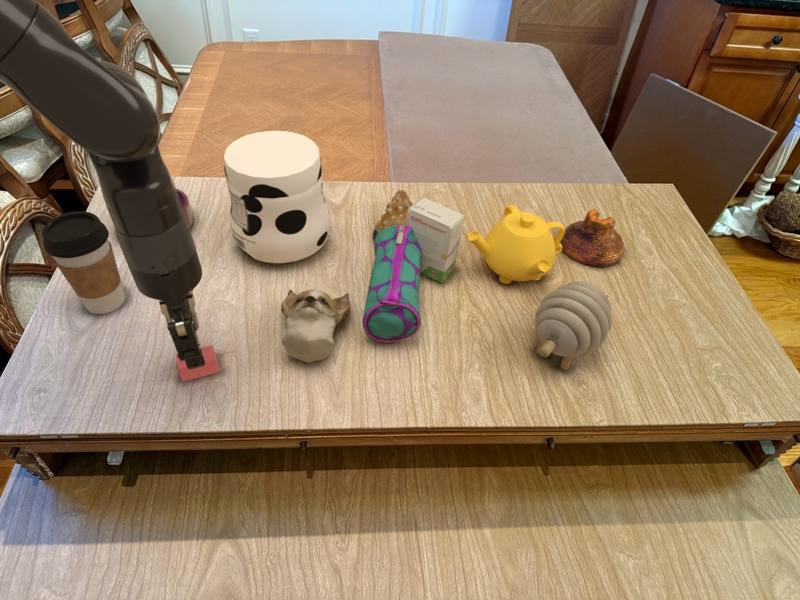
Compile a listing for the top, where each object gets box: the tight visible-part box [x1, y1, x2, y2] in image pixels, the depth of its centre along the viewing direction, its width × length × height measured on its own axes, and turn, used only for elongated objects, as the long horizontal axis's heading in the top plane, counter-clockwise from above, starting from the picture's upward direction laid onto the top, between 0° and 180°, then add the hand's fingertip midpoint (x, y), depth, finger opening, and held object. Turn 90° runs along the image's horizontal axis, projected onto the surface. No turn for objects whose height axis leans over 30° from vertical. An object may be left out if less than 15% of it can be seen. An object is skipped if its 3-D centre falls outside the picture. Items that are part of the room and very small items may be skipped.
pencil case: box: [362, 225, 422, 344], centre depth 86 cm, size 21×9×10 cm, turn 177°
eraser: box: [175, 344, 220, 382], centre depth 76 cm, size 5×3×3 cm, turn 112°
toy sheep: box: [534, 281, 613, 370], centre depth 79 cm, size 11×17×11 cm, turn 145°
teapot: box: [467, 204, 566, 285], centre depth 92 cm, size 14×14×11 cm
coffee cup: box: [41, 210, 126, 315], centre depth 80 cm, size 8×8×15 cm
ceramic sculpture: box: [280, 289, 351, 363], centre depth 80 cm, size 11×9×15 cm
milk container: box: [223, 130, 331, 265], centre depth 92 cm, size 17×17×18 cm
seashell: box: [374, 189, 414, 232], centre depth 101 cm, size 9×8×10 cm
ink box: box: [406, 197, 466, 284], centre depth 91 cm, size 9×5×12 cm, turn 57°
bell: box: [560, 208, 625, 267], centre depth 99 cm, size 12×12×7 cm
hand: (192, 342), depth 73 cm, fingers open, 8 cm apart
